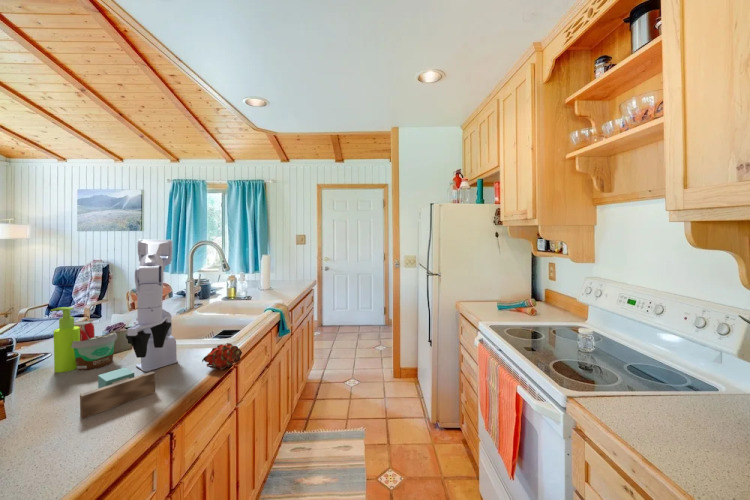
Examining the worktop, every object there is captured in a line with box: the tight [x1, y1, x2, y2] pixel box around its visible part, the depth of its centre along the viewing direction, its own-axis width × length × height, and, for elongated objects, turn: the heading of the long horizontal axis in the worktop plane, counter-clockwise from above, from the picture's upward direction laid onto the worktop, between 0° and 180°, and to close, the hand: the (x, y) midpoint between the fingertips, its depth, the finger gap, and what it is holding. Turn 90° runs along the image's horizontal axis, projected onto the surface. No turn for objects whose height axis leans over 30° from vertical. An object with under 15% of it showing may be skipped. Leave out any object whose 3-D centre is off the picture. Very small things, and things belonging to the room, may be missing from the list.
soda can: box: [74, 320, 96, 341], centre depth 107 cm, size 7×7×12 cm
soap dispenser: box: [50, 306, 80, 374], centre depth 96 cm, size 6×7×20 cm
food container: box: [71, 329, 118, 372], centre depth 99 cm, size 12×6×10 cm, turn 168°
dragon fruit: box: [201, 342, 243, 371], centre depth 100 cm, size 8×8×12 cm
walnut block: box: [79, 370, 156, 420], centre depth 77 cm, size 15×2×6 cm, turn 148°
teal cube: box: [97, 367, 135, 389], centre depth 81 cm, size 6×6×6 cm
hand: (150, 352), depth 88 cm, fingers open, 7 cm apart
